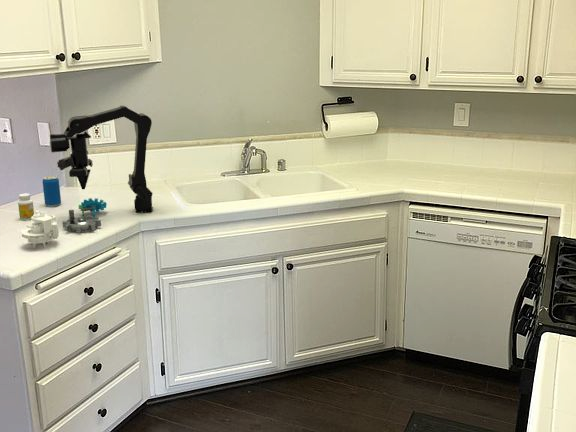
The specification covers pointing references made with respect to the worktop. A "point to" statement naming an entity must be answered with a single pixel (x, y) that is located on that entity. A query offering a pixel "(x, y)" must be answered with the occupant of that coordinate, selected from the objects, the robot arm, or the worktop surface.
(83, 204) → the gear
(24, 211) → the supplement bottle
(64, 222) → the sprocket
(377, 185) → the worktop surface
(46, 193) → the beverage can
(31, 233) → the mechanical part
